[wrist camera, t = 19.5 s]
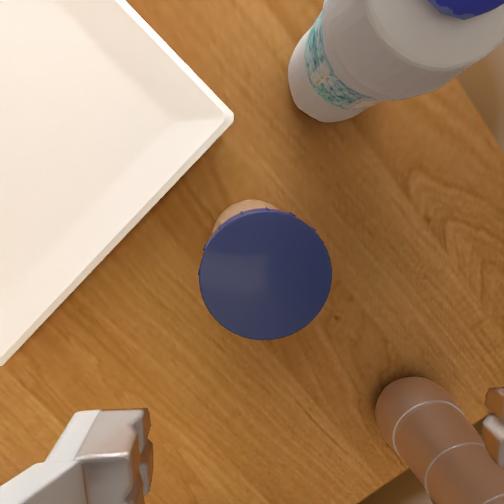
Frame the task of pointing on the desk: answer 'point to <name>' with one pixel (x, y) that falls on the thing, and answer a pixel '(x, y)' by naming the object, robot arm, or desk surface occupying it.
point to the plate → (85, 144)
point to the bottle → (388, 51)
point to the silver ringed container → (438, 443)
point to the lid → (265, 274)
